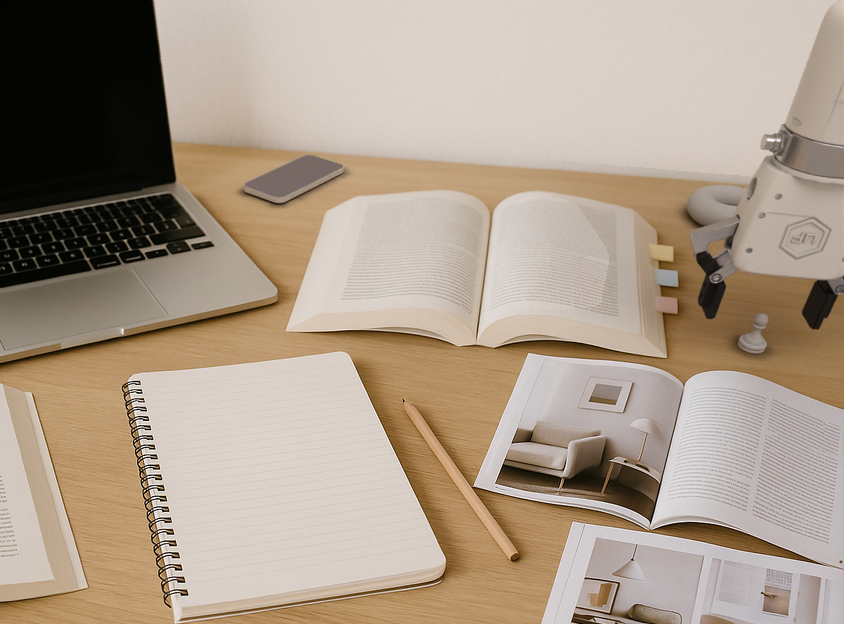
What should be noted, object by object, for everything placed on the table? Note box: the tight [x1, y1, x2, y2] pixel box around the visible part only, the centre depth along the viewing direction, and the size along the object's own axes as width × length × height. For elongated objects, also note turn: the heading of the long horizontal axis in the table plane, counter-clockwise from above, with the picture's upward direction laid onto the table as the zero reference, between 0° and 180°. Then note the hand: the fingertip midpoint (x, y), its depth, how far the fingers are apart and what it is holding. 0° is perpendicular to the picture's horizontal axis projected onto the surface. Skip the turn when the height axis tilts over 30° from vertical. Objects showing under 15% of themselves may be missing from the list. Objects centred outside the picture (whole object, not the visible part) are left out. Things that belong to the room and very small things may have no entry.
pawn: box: [737, 312, 770, 355], centre depth 84 cm, size 3×3×4 cm
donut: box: [686, 183, 747, 227], centre depth 108 cm, size 10×4×10 cm
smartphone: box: [242, 154, 345, 204], centre depth 119 cm, size 7×1×15 cm
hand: (757, 316), depth 83 cm, fingers open, 9 cm apart
